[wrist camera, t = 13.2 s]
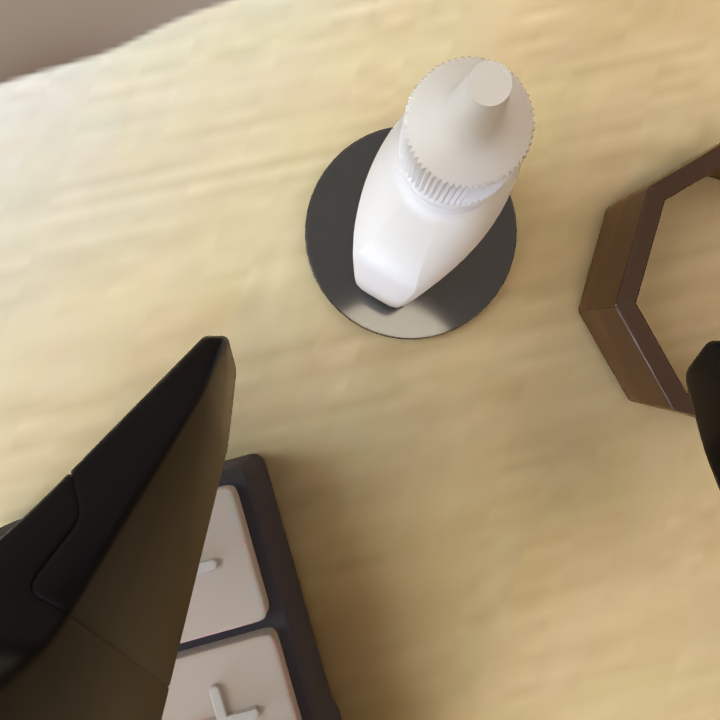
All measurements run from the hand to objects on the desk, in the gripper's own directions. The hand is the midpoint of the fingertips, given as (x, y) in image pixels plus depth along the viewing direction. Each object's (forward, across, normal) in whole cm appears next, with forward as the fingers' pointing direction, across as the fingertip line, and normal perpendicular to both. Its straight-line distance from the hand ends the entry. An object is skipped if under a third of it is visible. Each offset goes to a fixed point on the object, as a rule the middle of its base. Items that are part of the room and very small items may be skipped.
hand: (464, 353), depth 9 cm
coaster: (+11, 0, +4) cm, 12 cm away
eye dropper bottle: (+11, 0, +4) cm, 11 cm away
